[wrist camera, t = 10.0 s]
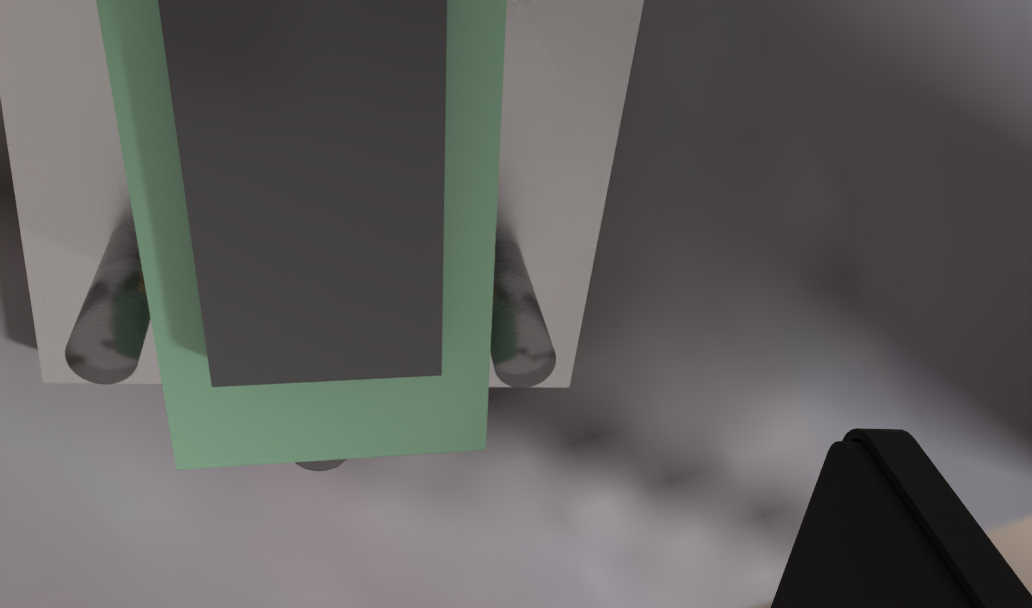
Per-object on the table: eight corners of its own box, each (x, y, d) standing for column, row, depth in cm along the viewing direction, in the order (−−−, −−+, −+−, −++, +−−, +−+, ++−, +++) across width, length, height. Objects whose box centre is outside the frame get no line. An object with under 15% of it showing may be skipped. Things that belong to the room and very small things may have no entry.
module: (123, -261, 17) (38, -242, 12) (473, -244, 18) (526, -218, 13) (205, 327, 23) (170, 498, 18) (458, 317, 24) (491, 476, 19)
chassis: (-66, -498, 17) (-222, -574, 12) (695, -366, 20) (811, -383, 15) (54, 356, 26) (-9, 505, 21) (561, 363, 29) (606, 496, 24)
